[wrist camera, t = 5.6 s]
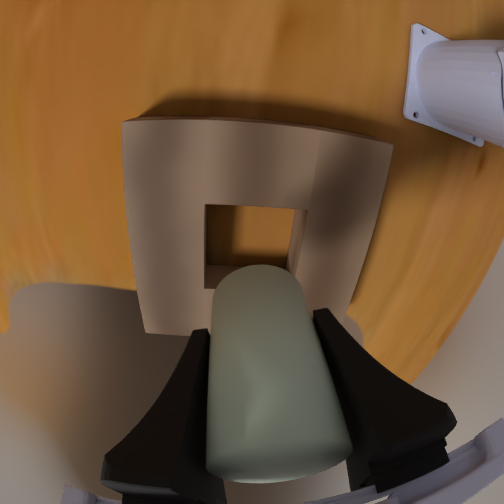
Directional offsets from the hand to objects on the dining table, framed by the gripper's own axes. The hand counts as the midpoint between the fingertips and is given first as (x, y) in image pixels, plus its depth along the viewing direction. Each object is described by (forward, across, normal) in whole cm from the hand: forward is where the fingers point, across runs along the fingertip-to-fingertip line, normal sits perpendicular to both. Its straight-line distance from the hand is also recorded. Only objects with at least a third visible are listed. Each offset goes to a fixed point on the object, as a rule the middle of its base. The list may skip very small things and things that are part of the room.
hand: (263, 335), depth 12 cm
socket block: (+10, 0, 0) cm, 10 cm away
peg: (+2, 0, 0) cm, 2 cm away
